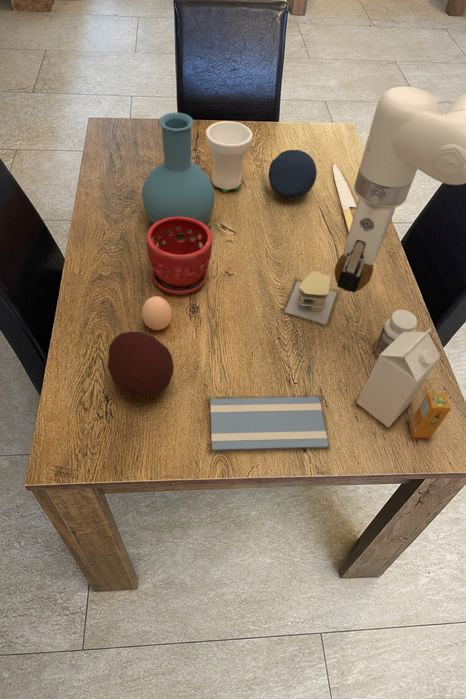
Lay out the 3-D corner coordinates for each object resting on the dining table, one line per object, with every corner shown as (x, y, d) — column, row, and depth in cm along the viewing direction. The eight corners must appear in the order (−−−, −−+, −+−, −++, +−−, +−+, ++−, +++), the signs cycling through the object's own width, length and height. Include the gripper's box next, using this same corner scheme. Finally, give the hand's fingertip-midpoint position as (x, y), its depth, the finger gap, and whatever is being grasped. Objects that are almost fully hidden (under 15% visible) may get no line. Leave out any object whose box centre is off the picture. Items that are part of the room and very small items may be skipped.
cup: (198, 176, 132) (199, 124, 121) (237, 168, 136) (241, 117, 124) (214, 201, 126) (216, 149, 115) (254, 192, 129) (260, 141, 118)
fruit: (349, 270, 90) (360, 235, 84) (373, 291, 87) (387, 256, 81) (322, 283, 88) (332, 247, 81) (346, 305, 85) (358, 270, 78)
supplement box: (425, 422, 91) (447, 392, 83) (429, 439, 89) (452, 410, 81) (407, 421, 91) (427, 391, 83) (411, 438, 89) (432, 409, 81)
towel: (318, 398, 93) (319, 396, 92) (327, 447, 87) (328, 446, 86) (210, 400, 91) (210, 398, 90) (211, 450, 85) (211, 449, 84)
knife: (344, 162, 139) (329, 159, 138) (369, 241, 119) (352, 238, 118) (342, 167, 140) (327, 163, 139) (367, 245, 120) (349, 242, 119)
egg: (144, 338, 99) (141, 312, 93) (142, 316, 102) (138, 290, 96) (174, 334, 100) (172, 309, 94) (170, 313, 103) (169, 287, 97)
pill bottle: (388, 336, 103) (404, 303, 95) (408, 354, 100) (427, 322, 92) (368, 347, 101) (382, 315, 93) (388, 367, 98) (405, 335, 90)
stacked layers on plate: (297, 280, 111) (301, 262, 106) (336, 292, 109) (342, 274, 105) (284, 312, 105) (288, 294, 101) (326, 324, 104) (331, 307, 99)
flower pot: (211, 300, 106) (213, 257, 96) (148, 300, 105) (144, 257, 95) (210, 257, 114) (211, 214, 104) (151, 257, 113) (147, 213, 103)
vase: (136, 207, 123) (124, 106, 103) (199, 194, 128) (200, 95, 108) (157, 251, 114) (149, 149, 94) (224, 235, 119) (230, 135, 99)
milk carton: (355, 403, 92) (386, 339, 77) (377, 381, 96) (411, 315, 81) (387, 428, 90) (426, 366, 74) (409, 404, 93) (450, 341, 78)
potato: (134, 422, 87) (128, 390, 79) (99, 370, 93) (89, 335, 85) (188, 392, 92) (187, 358, 83) (151, 344, 98) (147, 309, 90)
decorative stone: (271, 176, 134) (276, 141, 126) (315, 185, 133) (323, 151, 125) (261, 201, 127) (265, 166, 119) (307, 212, 126) (315, 177, 118)
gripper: (395, 226, 65) (359, 317, 79) (421, 160, 75) (385, 252, 89) (339, 209, 67) (315, 301, 81) (372, 147, 77) (345, 239, 91)
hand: (352, 274), depth 85 cm, fingers closed on fruit, 6 cm apart
